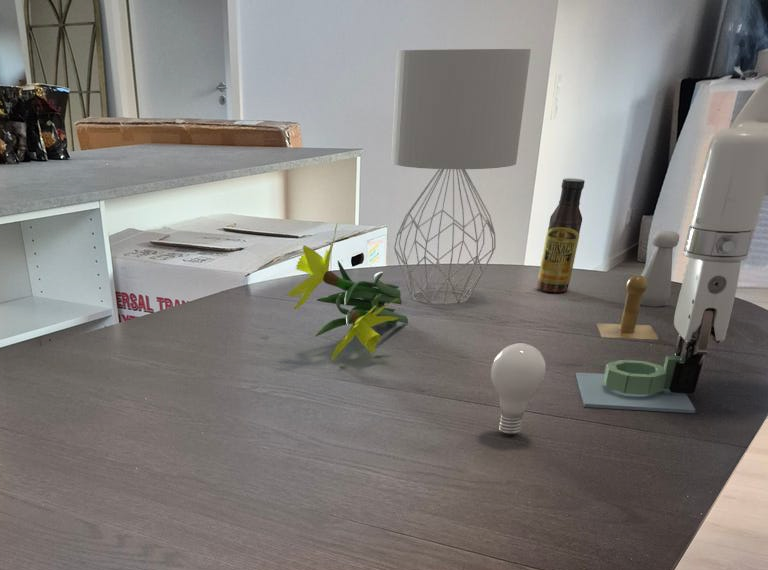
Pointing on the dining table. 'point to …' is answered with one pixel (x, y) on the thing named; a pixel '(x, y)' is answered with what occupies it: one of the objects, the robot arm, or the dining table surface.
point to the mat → (629, 397)
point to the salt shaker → (660, 269)
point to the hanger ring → (639, 376)
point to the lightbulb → (516, 382)
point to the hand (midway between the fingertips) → (680, 388)
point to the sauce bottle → (562, 239)
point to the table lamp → (456, 129)
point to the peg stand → (630, 314)
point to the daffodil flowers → (349, 299)
